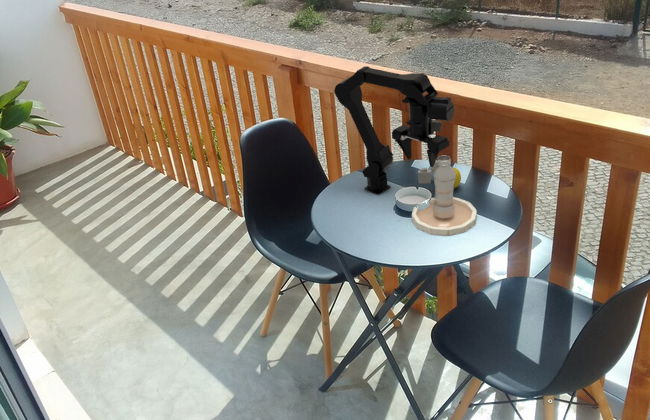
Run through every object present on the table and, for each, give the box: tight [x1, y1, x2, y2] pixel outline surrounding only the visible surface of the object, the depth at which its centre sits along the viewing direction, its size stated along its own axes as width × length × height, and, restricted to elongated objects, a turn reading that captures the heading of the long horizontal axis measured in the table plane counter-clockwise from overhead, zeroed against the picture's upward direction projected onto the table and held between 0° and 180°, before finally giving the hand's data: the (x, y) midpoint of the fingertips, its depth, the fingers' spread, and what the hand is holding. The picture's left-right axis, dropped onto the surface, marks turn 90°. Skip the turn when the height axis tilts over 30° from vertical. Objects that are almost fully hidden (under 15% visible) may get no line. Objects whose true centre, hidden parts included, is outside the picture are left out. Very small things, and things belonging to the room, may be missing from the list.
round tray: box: [411, 196, 478, 237], centre depth 182 cm, size 19×19×2 cm
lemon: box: [451, 166, 462, 190], centre depth 195 cm, size 6×6×8 cm
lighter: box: [417, 159, 438, 185], centre depth 201 cm, size 7×2×8 cm, turn 83°
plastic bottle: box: [432, 154, 456, 219], centre depth 177 cm, size 6×7×20 cm
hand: (420, 162), depth 187 cm, fingers open, 9 cm apart
